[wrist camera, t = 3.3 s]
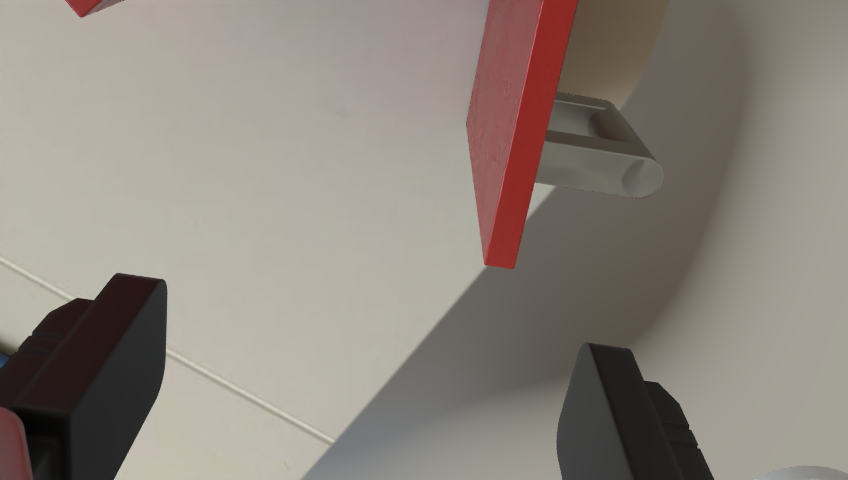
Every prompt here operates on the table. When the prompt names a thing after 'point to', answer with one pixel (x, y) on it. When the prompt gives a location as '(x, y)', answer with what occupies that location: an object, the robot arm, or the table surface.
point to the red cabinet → (90, 6)
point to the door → (541, 126)
